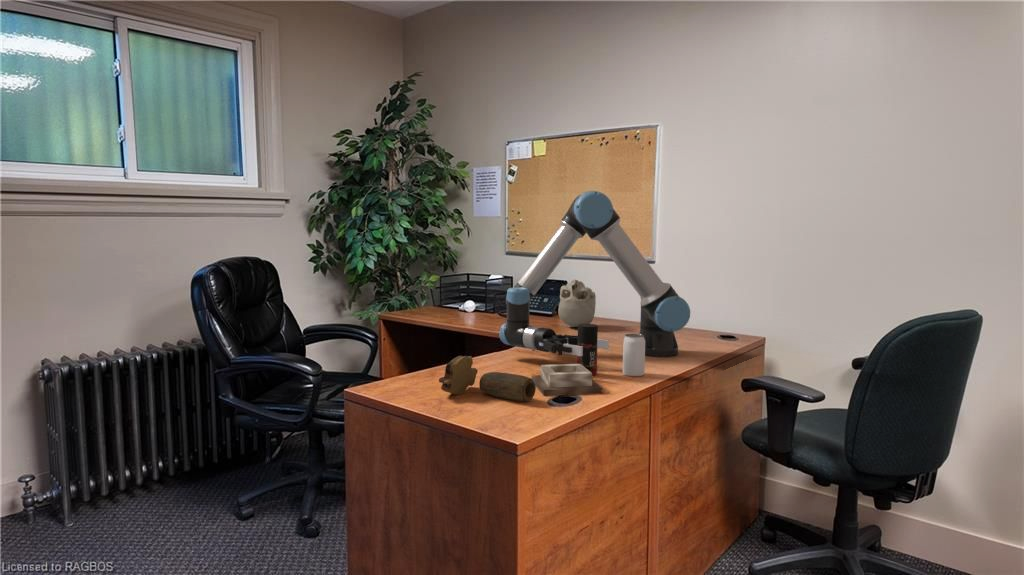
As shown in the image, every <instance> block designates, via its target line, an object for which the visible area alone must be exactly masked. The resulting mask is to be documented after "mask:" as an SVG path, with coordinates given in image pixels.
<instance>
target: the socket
mask: <svg viewBox="0 0 1024 575" xmlns="http://www.w3.org/2000/svg"><path fill="white" fill-rule="evenodd" d="M531 379H532V380H533V381H534V382H535V385H536V389H538V391H540V393H541V394H542V395H543V396H544V397H545V396H546V397H547V396H568V395H567V394H572V395H592V394H593V395H595V394H603V386H601V385H600V384H598V383H597V382H596V381H595V380H594V379H593V377H592V373H591V372H590V371H589V370H587V369H586V368H585V367H584V366H582V365H581V364H577V363H565V364H564V363H561V364H559V363H558V364H557V363H556V364H540V374H538V375H537V374H536V375H533V374H531Z"/></svg>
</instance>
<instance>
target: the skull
mask: <svg viewBox="0 0 1024 575" xmlns="http://www.w3.org/2000/svg"><path fill="white" fill-rule="evenodd" d="M559 292H560V293H559V294H560V295H559V299H560V301H559V305H558V310H557V312H558V316H559V318H560V320H561V321H562V323H564V324H565V325H567V326H569V327H571V328H573V327H578V324H592V322H593V321H594V318H595V314H596V306H597V303H596V293H595V291H593V290H592V289H591V288H590V287H589V286H588V287H586V286H585V284H584V282H582V281H579V280H577V279H572V280H571V281H570V283H568V284H566V285H565V284H564V285H562V286H561V287H560V290H559Z"/></svg>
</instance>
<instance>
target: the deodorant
mask: <svg viewBox="0 0 1024 575" xmlns="http://www.w3.org/2000/svg"><path fill="white" fill-rule="evenodd" d="M598 327H599V326H598V325H597V324H595V323H590V324H578V328H577V336H578V343H577V345H576V346H582V347H583V356H577V355H576V358H577V360H576V364H581V365H582V366H584V367H585V368H586V369H587V370H589V371H590V372H591V373H592V376H593V377H596V376H597V374H598V372H597V371H598V370H597V369H598V367H597V366H598V348H597V339H598V336H599V334H598V333H599V331H598V330H599V329H598Z"/></svg>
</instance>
